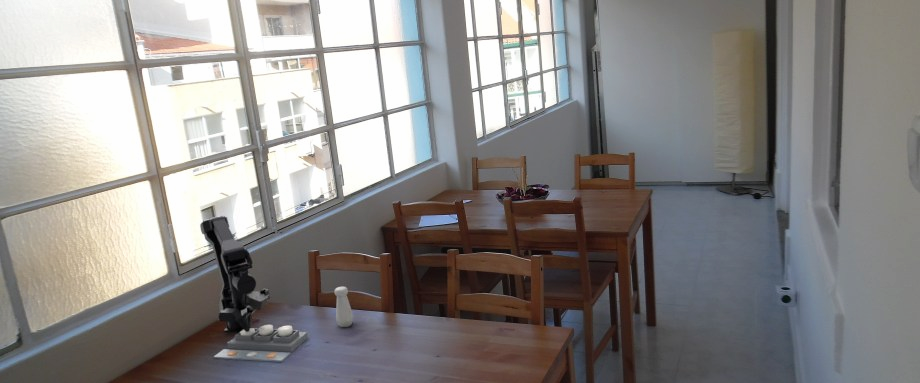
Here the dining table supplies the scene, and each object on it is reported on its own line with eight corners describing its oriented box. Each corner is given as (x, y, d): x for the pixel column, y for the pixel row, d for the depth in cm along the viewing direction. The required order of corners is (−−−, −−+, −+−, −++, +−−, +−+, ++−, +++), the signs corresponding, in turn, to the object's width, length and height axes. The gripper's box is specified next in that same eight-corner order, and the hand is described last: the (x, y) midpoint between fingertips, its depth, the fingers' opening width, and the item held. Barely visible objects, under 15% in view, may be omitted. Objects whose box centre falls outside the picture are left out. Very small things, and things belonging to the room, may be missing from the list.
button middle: (256, 335, 218) (255, 330, 218) (264, 329, 222) (263, 324, 222) (268, 336, 217) (267, 330, 217) (276, 330, 221) (275, 324, 221)
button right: (275, 336, 216) (275, 331, 216) (283, 330, 220) (282, 325, 220) (288, 336, 215) (287, 331, 214) (295, 331, 219) (294, 325, 218)
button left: (238, 339, 221) (237, 333, 220) (246, 333, 225) (245, 328, 224) (250, 339, 219) (249, 334, 219) (258, 333, 224) (257, 328, 223)
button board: (228, 348, 219) (226, 338, 219) (246, 335, 229) (244, 325, 228) (291, 352, 212) (289, 341, 211) (307, 338, 222) (306, 327, 221)
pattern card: (214, 358, 213) (213, 355, 213) (224, 350, 218) (223, 348, 218) (281, 362, 206) (281, 359, 206) (290, 354, 211) (290, 352, 211)
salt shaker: (350, 328, 226) (345, 291, 223) (334, 328, 227) (329, 291, 224) (356, 321, 231) (351, 284, 229) (340, 321, 233) (335, 284, 230)
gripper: (244, 297, 207) (252, 345, 211) (277, 275, 225) (284, 320, 228) (212, 296, 211) (221, 343, 214) (248, 275, 228) (255, 319, 231)
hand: (247, 331), depth 222 cm, fingers closed, pressing on button left
